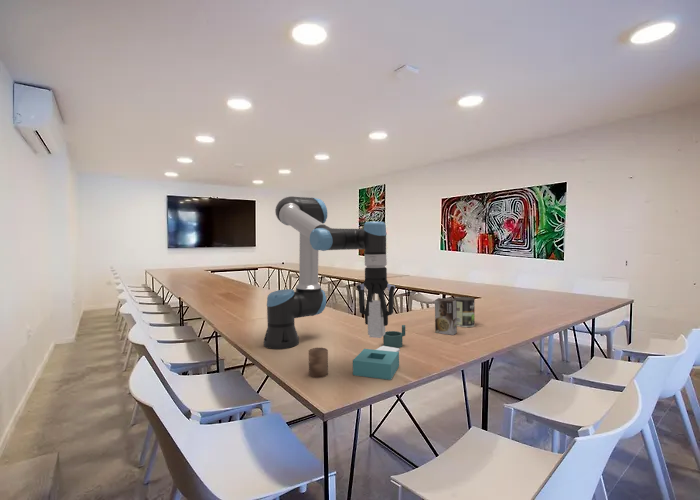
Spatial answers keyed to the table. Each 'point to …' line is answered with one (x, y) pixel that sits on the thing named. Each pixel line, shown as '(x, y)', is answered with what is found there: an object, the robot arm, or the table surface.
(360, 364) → the socket block
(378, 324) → the square bit
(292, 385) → the table surface
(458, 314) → the coffee can
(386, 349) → the external hard drive
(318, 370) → the round bit
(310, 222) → the robot arm
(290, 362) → the table surface
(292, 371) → the table surface
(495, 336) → the table surface
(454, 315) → the coffee box
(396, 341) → the bracket
